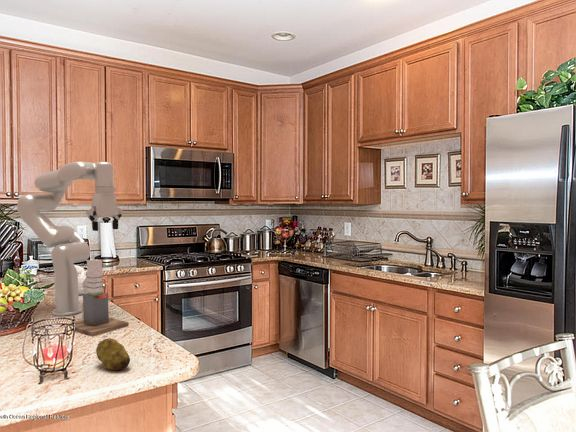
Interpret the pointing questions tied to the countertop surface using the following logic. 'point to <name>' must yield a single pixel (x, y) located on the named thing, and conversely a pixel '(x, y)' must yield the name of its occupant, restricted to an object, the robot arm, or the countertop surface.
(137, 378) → the countertop surface
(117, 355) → the potato
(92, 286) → the steel post
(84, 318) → the stand
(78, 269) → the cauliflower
